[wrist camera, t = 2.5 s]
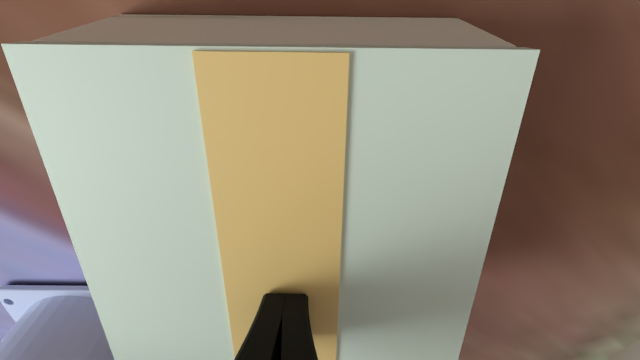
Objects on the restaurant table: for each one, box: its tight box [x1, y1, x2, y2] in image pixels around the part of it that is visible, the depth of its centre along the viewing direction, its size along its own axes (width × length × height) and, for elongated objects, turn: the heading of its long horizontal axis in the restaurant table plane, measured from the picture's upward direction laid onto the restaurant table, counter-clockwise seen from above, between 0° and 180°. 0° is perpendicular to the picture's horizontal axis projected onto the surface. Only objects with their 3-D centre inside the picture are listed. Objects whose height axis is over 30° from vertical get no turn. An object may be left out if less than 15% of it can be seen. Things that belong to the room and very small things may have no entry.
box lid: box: [1, 42, 540, 360], centre depth 11 cm, size 12×12×1 cm
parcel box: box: [32, 14, 517, 47], centre depth 14 cm, size 12×12×4 cm
